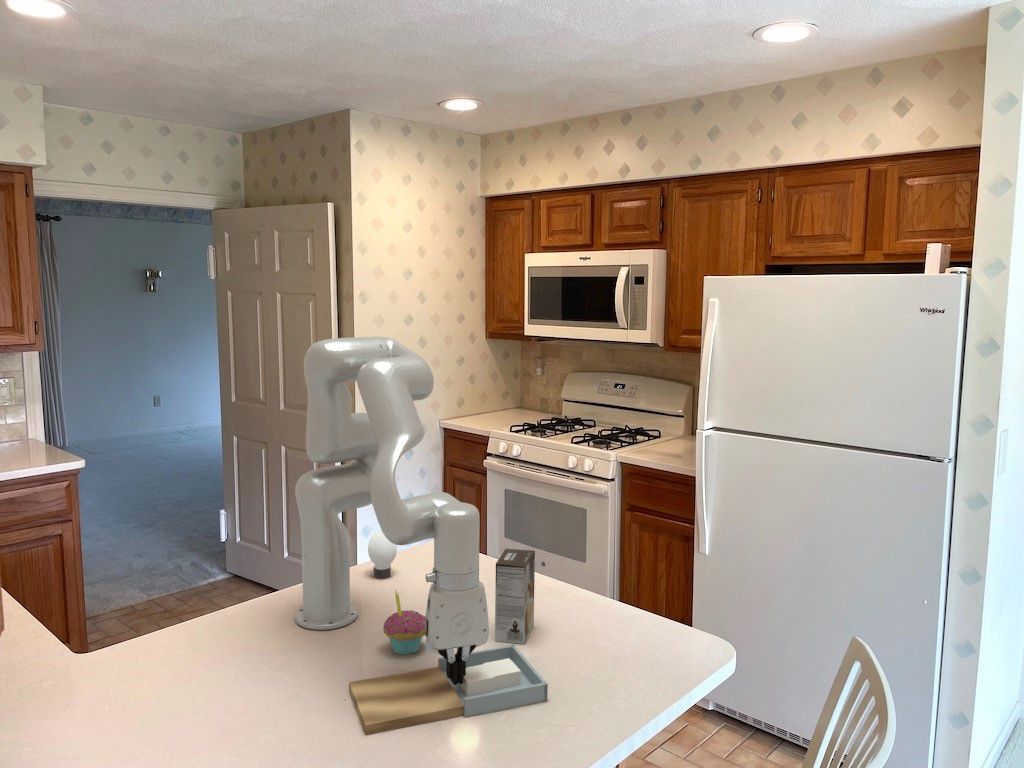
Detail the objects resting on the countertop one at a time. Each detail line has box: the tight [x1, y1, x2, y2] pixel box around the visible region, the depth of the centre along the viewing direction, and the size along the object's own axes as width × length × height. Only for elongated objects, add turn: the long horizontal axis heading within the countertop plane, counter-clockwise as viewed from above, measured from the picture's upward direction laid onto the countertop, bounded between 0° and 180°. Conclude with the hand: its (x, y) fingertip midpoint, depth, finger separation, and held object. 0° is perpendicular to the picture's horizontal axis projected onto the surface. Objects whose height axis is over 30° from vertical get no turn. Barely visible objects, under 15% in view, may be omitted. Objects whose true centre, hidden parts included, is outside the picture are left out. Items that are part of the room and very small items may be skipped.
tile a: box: [458, 664, 495, 696], centre depth 137 cm, size 5×5×2 cm
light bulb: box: [367, 530, 398, 580], centre depth 187 cm, size 7×7×11 cm
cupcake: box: [383, 590, 426, 655], centre depth 151 cm, size 9×8×12 cm
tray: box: [437, 644, 549, 718], centre depth 138 cm, size 15×15×3 cm
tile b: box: [483, 658, 521, 689], centre depth 139 cm, size 5×5×2 cm
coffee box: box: [494, 548, 536, 645], centre depth 158 cm, size 9×6×16 cm
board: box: [348, 666, 464, 736], centre depth 132 cm, size 14×16×2 cm
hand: (455, 680), depth 135 cm, fingers closed
